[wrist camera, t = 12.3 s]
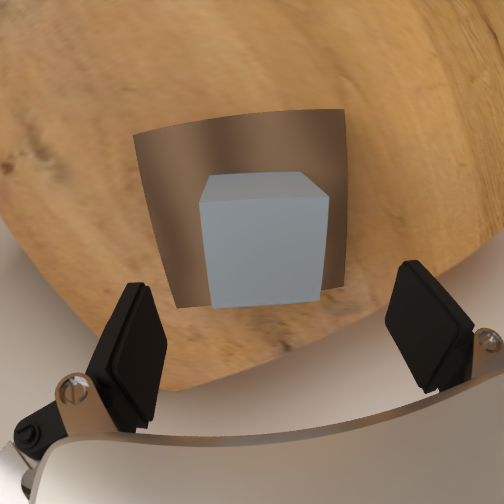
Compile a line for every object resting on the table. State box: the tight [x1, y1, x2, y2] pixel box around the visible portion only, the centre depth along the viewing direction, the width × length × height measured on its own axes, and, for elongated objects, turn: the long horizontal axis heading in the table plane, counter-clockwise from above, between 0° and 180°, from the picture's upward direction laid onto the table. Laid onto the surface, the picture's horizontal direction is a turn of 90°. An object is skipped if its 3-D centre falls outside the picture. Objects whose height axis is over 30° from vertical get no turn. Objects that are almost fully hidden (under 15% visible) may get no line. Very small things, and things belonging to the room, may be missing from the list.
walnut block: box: [133, 109, 347, 308], centre depth 21 cm, size 14×14×5 cm
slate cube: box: [199, 172, 329, 308], centre depth 16 cm, size 6×6×6 cm
